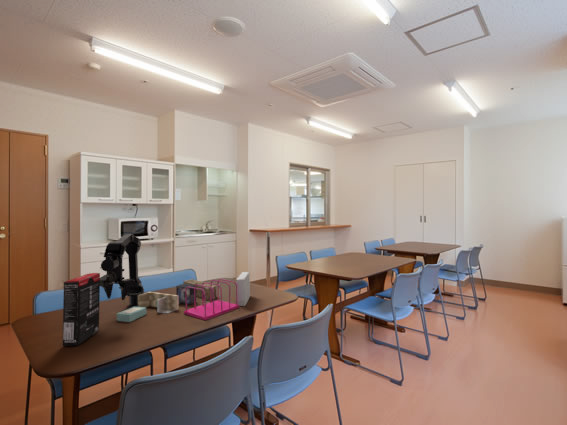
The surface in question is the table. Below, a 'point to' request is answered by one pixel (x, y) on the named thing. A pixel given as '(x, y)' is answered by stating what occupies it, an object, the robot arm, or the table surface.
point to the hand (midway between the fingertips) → (116, 299)
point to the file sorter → (213, 307)
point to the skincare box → (243, 288)
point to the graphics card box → (81, 308)
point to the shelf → (152, 298)
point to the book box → (131, 314)
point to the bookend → (163, 306)
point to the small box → (190, 293)
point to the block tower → (199, 292)
